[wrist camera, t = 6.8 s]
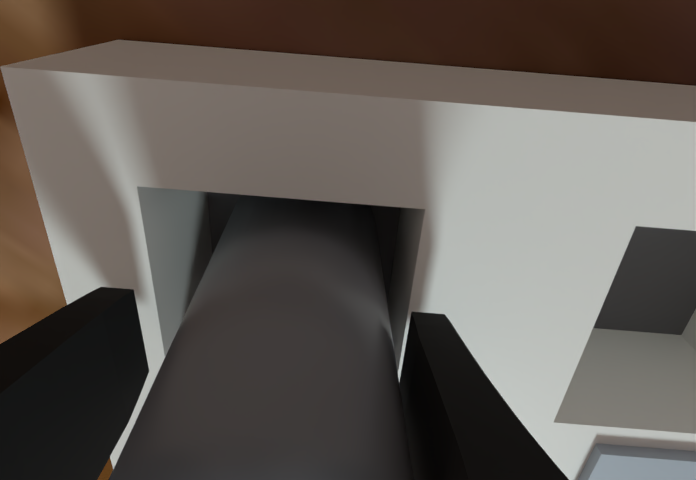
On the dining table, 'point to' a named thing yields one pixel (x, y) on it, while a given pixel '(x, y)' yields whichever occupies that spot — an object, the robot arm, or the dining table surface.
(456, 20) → the dining table surface
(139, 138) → the socket block
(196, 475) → the peg
